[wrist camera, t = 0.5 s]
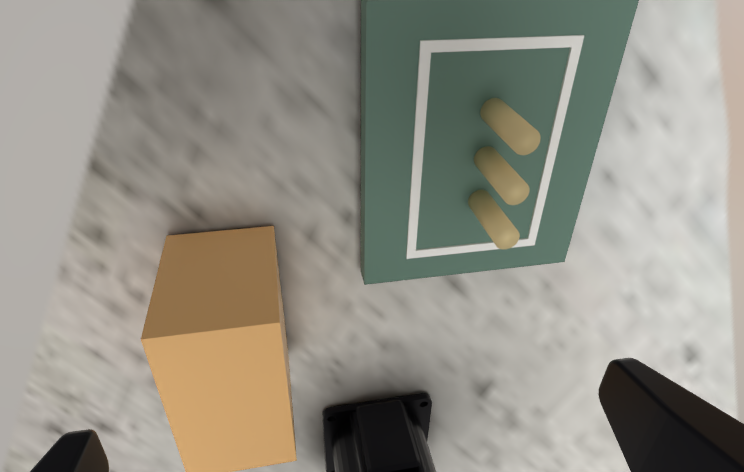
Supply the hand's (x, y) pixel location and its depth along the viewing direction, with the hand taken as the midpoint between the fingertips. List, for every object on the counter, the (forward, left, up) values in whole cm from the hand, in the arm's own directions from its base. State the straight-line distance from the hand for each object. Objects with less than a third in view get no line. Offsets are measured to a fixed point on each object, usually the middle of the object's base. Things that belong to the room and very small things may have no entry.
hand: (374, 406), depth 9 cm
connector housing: (-9, +4, -13) cm, 16 cm away
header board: (-2, -7, -13) cm, 15 cm away
